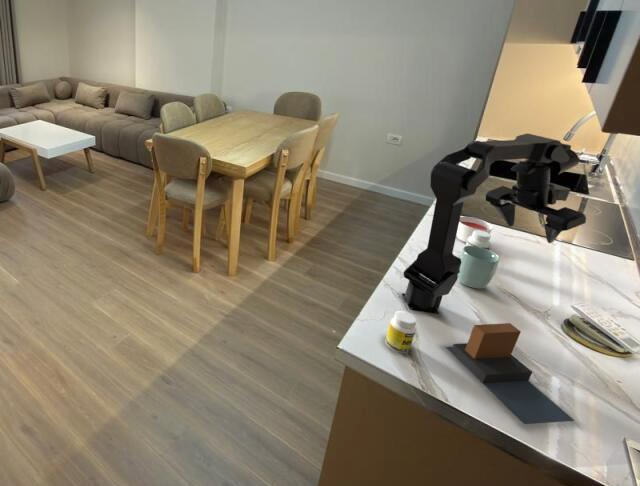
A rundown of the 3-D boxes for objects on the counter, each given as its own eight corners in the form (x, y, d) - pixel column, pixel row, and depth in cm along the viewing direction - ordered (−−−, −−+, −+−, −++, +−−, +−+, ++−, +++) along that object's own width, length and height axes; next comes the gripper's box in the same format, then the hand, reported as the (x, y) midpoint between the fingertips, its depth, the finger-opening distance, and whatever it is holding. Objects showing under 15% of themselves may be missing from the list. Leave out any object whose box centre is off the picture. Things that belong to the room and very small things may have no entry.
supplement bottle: (401, 357, 87) (410, 327, 85) (380, 342, 91) (388, 313, 88) (413, 349, 90) (423, 320, 87) (392, 335, 93) (400, 306, 91)
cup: (489, 296, 106) (501, 265, 102) (452, 285, 110) (463, 255, 107) (487, 281, 112) (498, 251, 108) (452, 271, 116) (462, 242, 112)
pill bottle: (482, 259, 122) (492, 231, 118) (485, 268, 117) (495, 240, 114) (460, 254, 124) (469, 227, 121) (462, 262, 120) (472, 234, 117)
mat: (444, 348, 90) (445, 346, 89) (486, 346, 90) (486, 344, 90) (523, 425, 73) (524, 423, 73) (573, 422, 73) (574, 420, 73)
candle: (477, 234, 135) (482, 218, 133) (493, 248, 127) (499, 231, 125) (447, 231, 137) (452, 215, 135) (461, 245, 129) (467, 228, 127)
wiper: (450, 352, 88) (462, 318, 85) (492, 349, 89) (506, 316, 85) (482, 383, 81) (497, 348, 77) (528, 380, 81) (545, 345, 78)
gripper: (609, 184, 90) (602, 240, 95) (520, 160, 107) (518, 208, 113) (567, 201, 89) (562, 256, 94) (483, 174, 107) (483, 222, 112)
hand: (530, 233), depth 103 cm, fingers open, 9 cm apart
